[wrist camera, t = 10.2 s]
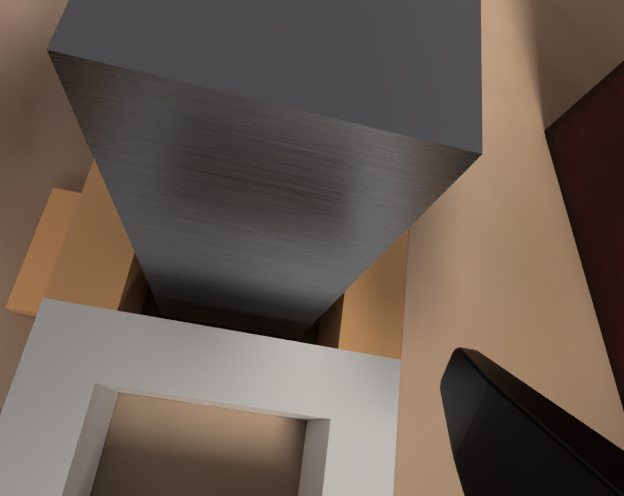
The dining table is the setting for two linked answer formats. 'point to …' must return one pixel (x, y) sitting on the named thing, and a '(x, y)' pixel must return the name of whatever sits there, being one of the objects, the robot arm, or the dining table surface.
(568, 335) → the dining table surface
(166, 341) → the frame
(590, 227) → the storage box
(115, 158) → the graphite panel
